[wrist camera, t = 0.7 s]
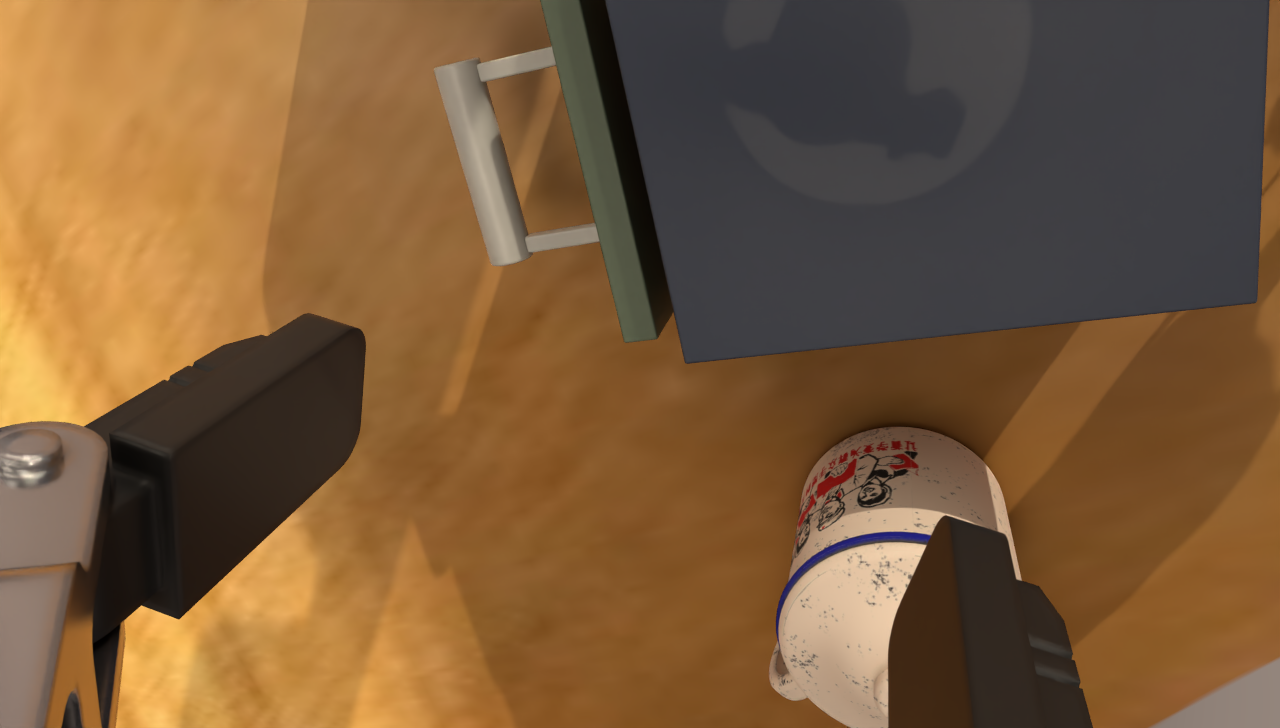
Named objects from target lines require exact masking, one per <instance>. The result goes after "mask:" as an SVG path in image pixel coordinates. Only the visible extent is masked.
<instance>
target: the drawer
mask: <svg viewBox="0 0 1280 728" xmlns="http://www.w3.org/2000/svg"><path fill="white" fill-rule="evenodd" d="M540 1H541V5H542V9H543V13H544V17H545V22H546V26H547V30H548V34H549V38H550V42H551V47H547V48H542V49H538V50H534V51H530V52H526V53H521V54H517V55H513V56H509V57H504V58H500V59H496V60H492V61H488V62H483V63H481V61H480V59H479V58H473V59H468V60H464V61H460V62H456V63H452V64H448V65H444V66H440V67H436V68H434V73H435V77H436V80H437V83H438V87H439V90H440V94H441V97H442V100H443V104H444V107H445V110H446V114H447V117H448V121H449V124H450V127H451V131H452V134H453V138H454V141H455V144H456V148H457V151H458V154H459V158H460V161H461V165H462V168H463V171H464V175H465V178H466V181H467V185H468V188H469V192H470V195H471V198H472V202H473V205H474V209H475V212H476V215H477V219H478V222H479V225H480V229H481V232H482V236H483V239H484V242H485V246H486V249H487V252H488V256H489V259H490V263H491V264H492V265H493V266H506V265H511V264H515V263H518V262H521V261H523V260H526V259H528V258H529V257H531V256H532V255H533V252H539V251H545V250H552V249H558V248H564V247H571V246H577V245H583V244H590V243H596V242H600V245H601V249H602V254H603V258H604V262H605V266H606V270H607V274H608V278H609V282H610V286H611V290H612V294H613V298H614V302H615V306H616V311H617V315H618V319H619V323H620V327H621V331H622V335H623V339H624V342H625V343H628V342H637V341H645V340H654V339H657V338H658V337H659V335H660V333H661V332H662V330H663V328H664V327H665V325H666V323H667V322H668V320H669V318H670V317H671V315H672V313H673V312H674V311H673V306H672V302H671V297H670V293H669V288H668V284H667V279H666V275H665V270H664V266H663V261H662V256H661V252H660V247H659V243H658V238H657V234H656V229H655V225H654V220H653V216H652V211H651V207H650V202H649V197H648V193H647V188H646V184H645V179H644V175H643V170H642V166H641V161H640V157H639V152H638V148H637V143H636V138H635V134H634V129H633V125H632V120H631V116H630V111H629V107H628V102H627V98H626V93H625V88H624V84H623V79H622V75H621V70H620V66H619V61H618V57H617V52H616V48H615V43H614V39H613V34H612V29H611V25H610V20H609V16H608V11H607V7H606V2H605V0H540ZM552 66H557V70H558V74H559V78H560V83H561V87H562V91H563V95H564V99H565V103H566V107H567V111H568V115H569V119H570V123H571V127H572V131H573V135H574V140H575V144H576V148H577V152H578V156H579V160H580V164H581V168H582V172H583V176H584V180H585V184H586V188H587V192H588V197H589V201H590V205H591V209H592V213H593V217H594V221H595V223H590V224H584V225H578V226H572V227H566V228H560V229H554V230H548V231H542V232H536V233H530V234H529V235H528V231H527V228H526V224H525V221H524V217H523V213H522V210H521V206H520V202H519V199H518V195H517V192H516V188H515V184H514V181H513V177H512V173H511V170H510V166H509V163H508V159H507V155H506V152H505V148H504V144H503V141H502V137H501V134H500V130H499V126H498V123H497V119H496V115H495V112H494V108H493V105H492V101H491V97H490V94H489V90H488V86H487V83H486V82H487V81H491V80H496V79H500V78H504V77H509V76H513V75H517V74H522V73H526V72H531V71H535V70H539V69H544V68H548V67H552Z"/></svg>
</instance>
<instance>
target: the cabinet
mask: <svg viewBox="0 0 1280 728" xmlns="http://www.w3.org/2000/svg"><path fill="white" fill-rule="evenodd" d="M605 2H606V7H607V11H608V16H609V20H610V25H611V29H612V34H613V39H614V43H615V48H616V52H617V57H618V61H619V66H620V70H621V75H622V79H623V84H624V88H625V93H626V98H627V102H628V107H629V111H630V116H631V120H632V125H633V129H634V134H635V138H636V143H637V148H638V152H639V157H640V161H641V166H642V170H643V175H644V179H645V184H646V188H647V193H648V197H649V202H650V207H651V211H652V216H653V220H654V225H655V229H656V234H657V238H658V243H659V247H660V252H661V256H662V261H663V266H664V270H665V275H666V279H667V284H668V288H669V293H670V297H671V302H672V306H673V311H674V316H675V320H676V325H677V329H678V334H679V338H680V343H681V347H682V352H683V356H684V361H685V363H687V364H688V363H697V362H707V361H716V360H726V359H735V358H744V357H754V356H763V355H772V354H782V353H791V352H801V351H810V350H819V349H829V348H838V347H848V346H857V345H866V344H876V343H885V342H894V341H904V340H913V339H923V338H932V337H941V336H951V335H960V334H970V333H979V332H988V331H998V330H1007V329H1017V328H1026V327H1035V326H1045V325H1054V324H1063V323H1073V322H1082V321H1092V320H1101V319H1110V318H1120V317H1129V316H1139V315H1148V314H1157V313H1167V312H1176V311H1186V310H1195V309H1204V308H1214V307H1223V306H1232V305H1242V304H1251V303H1256V302H1257V293H1258V269H1259V244H1260V220H1261V195H1262V171H1263V146H1264V122H1265V97H1266V73H1267V48H1268V24H1269V0H605Z"/></svg>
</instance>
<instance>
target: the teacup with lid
mask: <svg viewBox="0 0 1280 728" xmlns="http://www.w3.org/2000/svg"><path fill="white" fill-rule="evenodd" d="M945 515H947V516H950V517H954V518H957V519H960V520H963V521H966V522H969V523H973V524H976V525H979V526H982V527H985V528H988V529H992V530H995V531H998V532H1001V533H1004V534H1005V535H1006V536H1007V539H1008V542H1009V547H1010V552H1011V556H1012V561H1013V566H1014V570H1015V575H1016V579H1018V580H1021V575H1020V570H1019V566H1018V561H1017V556H1016V552H1015V547H1014V543H1013V538H1012V533H1011V529H1010V524H1009V520H1008V515H1007V510H1006V506H1005V501H1004V497H1003V494H1002V491H1001V489H1000V486H999V484H998V482H997V480H996V478H995V476H994V475H993V473H992V472H991V470H990V469H989V468H988V466H987V465H986V464H985V463H984V462H983V461H982V460H981V459H980V458H979V457H978V456H977V455H976V454H975V453H973V452H972V451H971V450H969V449H968V448H967V447H965V446H964V445H962V444H960V443H959V442H957V441H955V440H953V439H951V438H949V437H947V436H944V435H942V434H939V433H936V432H932V431H929V430H924V429H920V428H912V427H885V428H878V429H873V430H868V431H865V432H862V433H859V434H856V435H854V436H851V437H849V438H847V439H845V440H843V441H842V442H840V443H839V444H837V445H835V446H834V447H833V448H831V449H830V450H829V451H828V452H826V453H825V454H824V455H823V456H822V457H821V458H820V460H819V461H818V462H817V463H816V464H815V466H814V467H813V469H812V470H811V472H810V474H809V476H808V478H807V480H806V483H805V486H804V488H803V493H802V498H801V504H800V510H799V517H798V523H797V530H796V536H795V542H794V549H793V555H792V562H791V568H790V575H789V581H788V583H787V585H786V587H785V589H784V591H783V593H782V595H781V598H780V601H779V605H778V609H777V616H776V633H777V640H778V642H777V644H776V647H775V649H774V652H773V655H772V658H771V662H770V668H769V679H770V683H771V685H772V687H773V688H774V689H775V690H776V691H777V692H778V693H780V694H781V695H782V696H783V697H785V698H787V699H789V700H794V701H796V700H802V699H805V698H809V699H810V700H811V701H812V702H813V703H814V704H815V705H816V706H818V707H819V708H820V709H821V710H822V711H824V712H825V713H827V714H828V715H829V716H831V717H833V718H834V719H836V720H837V721H839V722H841V723H843V724H845V725H847V726H849V727H851V728H888V647H889V639H890V634H891V630H892V625H893V622H894V618H895V615H896V612H897V609H898V607H899V605H900V602H901V600H902V598H903V596H904V593H905V591H906V589H907V587H908V585H909V583H910V580H911V578H912V576H913V574H914V572H915V569H916V567H917V565H918V563H919V561H920V559H921V556H922V554H923V552H924V550H925V548H926V545H927V543H928V541H929V539H930V537H931V535H932V532H933V530H934V528H935V526H936V525H937V523H938V521H939V520H940V519H941V518H942V517H943V516H945ZM1021 581H1022V580H1021Z"/></svg>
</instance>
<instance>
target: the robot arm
mask: <svg viewBox="0 0 1280 728" xmlns="http://www.w3.org/2000/svg"><path fill="white" fill-rule="evenodd" d="M365 352H366V342H365V336H364V334H363V332H362V331H361V330H360V329H358V328H355V327H352V326H349V325H346V324H343V323H340V322H336V321H333V320H330V319H327V318H324V317H321V316H317V315H314V314H310V313H307V314H304V315H302V316H300V317H298V318H296V319H295V320H293V321H292V322H290V323H288V324H287V325H285V326H283V327H282V328H280V329H278V330H277V331H275V332H274V333H272V334H270V335H269V336H264V335H259V336H255V337H252V338H248V339H244V340H241V341H237V342H233V343H229V344H226V345H223V346H221V347H219V348H217V349H216V350H214V351H212V352H211V353H209V354H207V355H205V356H204V357H202V358H200V359H199V360H197V361H195V362H194V365H193V366H192V367H191V366H187V367H185V368H183V369H182V370H180V371H178V372H176V373H175V374H173V375H171V376H170V379H169V381H166V380H163V381H161V382H159V383H158V384H156V385H154V386H152V387H151V388H149V389H147V390H146V391H144V392H142V393H141V394H139V395H137V396H135V397H134V398H132V399H130V400H129V401H127V402H125V403H123V404H122V405H120V406H118V407H117V408H115V409H113V410H111V411H110V412H108V413H106V414H105V415H103V416H101V417H99V418H98V419H96V420H94V421H93V422H91V423H89V424H88V425H86V426H84V427H83V426H79V425H76V424H71V423H65V422H51V421H41V422H28V423H21V424H15V425H10V426H6V427H2V428H0V728H116V720H117V711H118V702H119V693H120V684H121V674H122V665H123V656H124V647H125V624H124V620H125V619H126V618H127V617H128V616H129V615H131V614H132V613H133V612H134V611H135V610H136V609H138V608H139V607H140V606H141V605H142V606H144V607H147V608H150V609H153V610H155V611H158V612H161V613H163V614H166V615H169V616H171V617H174V618H177V619H180V618H181V617H182V616H183V615H184V614H185V613H186V612H187V611H189V610H190V609H191V608H192V607H193V606H194V605H195V604H196V603H197V602H198V601H199V600H200V599H201V598H202V597H203V596H205V595H206V594H207V593H208V592H209V591H210V590H211V589H212V588H213V587H214V586H215V585H216V584H217V583H218V582H219V581H221V580H222V579H223V578H224V577H225V576H226V575H227V574H228V573H229V572H230V571H231V570H232V569H233V568H234V567H235V566H237V565H238V564H239V563H240V562H241V561H242V560H243V559H244V558H245V557H246V556H247V555H248V554H249V553H250V552H251V551H253V550H254V549H255V548H256V547H257V546H258V545H259V544H260V543H261V542H262V541H263V540H264V539H265V538H266V537H267V536H269V535H270V534H271V533H272V532H273V531H274V530H275V529H276V528H277V527H278V526H279V525H280V524H281V523H282V522H283V521H285V520H286V519H287V518H288V517H289V516H290V515H291V514H292V513H293V512H294V511H295V510H296V509H297V508H298V507H300V506H301V505H302V504H303V503H304V502H305V501H306V500H307V499H308V498H309V497H310V496H311V495H312V494H313V493H314V492H316V491H317V490H318V489H319V488H320V487H321V486H322V485H323V484H324V483H325V482H326V481H327V480H328V479H329V478H330V477H332V476H333V475H334V474H335V473H336V472H337V471H338V470H339V469H340V468H341V467H342V466H343V465H344V464H345V462H346V461H347V460H348V458H349V456H350V455H351V453H352V451H353V449H354V447H355V444H356V441H357V439H358V435H359V431H360V425H361V412H362V397H363V382H364V367H365ZM1072 655H1073V653H1072V649H1071V645H1070V641H1069V638H1068V634H1067V630H1066V627H1065V623H1064V620H1063V619H1062V617H1061V616H1060V615H1059V613H1058V612H1057V610H1056V609H1055V608H1054V606H1053V605H1052V604H1051V602H1050V601H1049V600H1048V598H1047V597H1046V595H1045V594H1044V593H1043V591H1042V590H1041V589H1040V587H1039V586H1036V585H1033V584H1030V583H1027V582H1024V581H1021V580H1018V579H1016V575H1015V570H1014V566H1013V561H1012V556H1011V552H1010V547H1009V542H1008V539H1007V536H1006V535H1005V534H1004V533H1001V532H998V531H995V530H992V529H988V528H985V527H982V526H979V525H976V524H973V523H969V522H966V521H963V520H960V519H957V518H954V517H950V516H947V515H945V516H943V517H942V518H941V519H940V520H939V521H938V523H937V525H936V526H935V528H934V530H933V532H932V535H931V537H930V539H929V541H928V543H927V545H926V548H925V550H924V552H923V554H922V556H921V559H920V561H919V563H918V565H917V567H916V569H915V572H914V574H913V576H912V578H911V580H910V583H909V585H908V587H907V589H906V591H905V593H904V596H903V598H902V600H901V602H900V605H899V607H898V609H897V612H896V615H895V618H894V622H893V625H892V630H891V634H890V639H889V647H888V728H1093V726H1092V723H1091V719H1090V715H1089V712H1088V708H1087V704H1086V701H1085V697H1084V693H1083V689H1080V688H1079V684H1080V678H1079V675H1078V671H1077V667H1076V664H1075V661H1074V660H1072Z"/></svg>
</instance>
